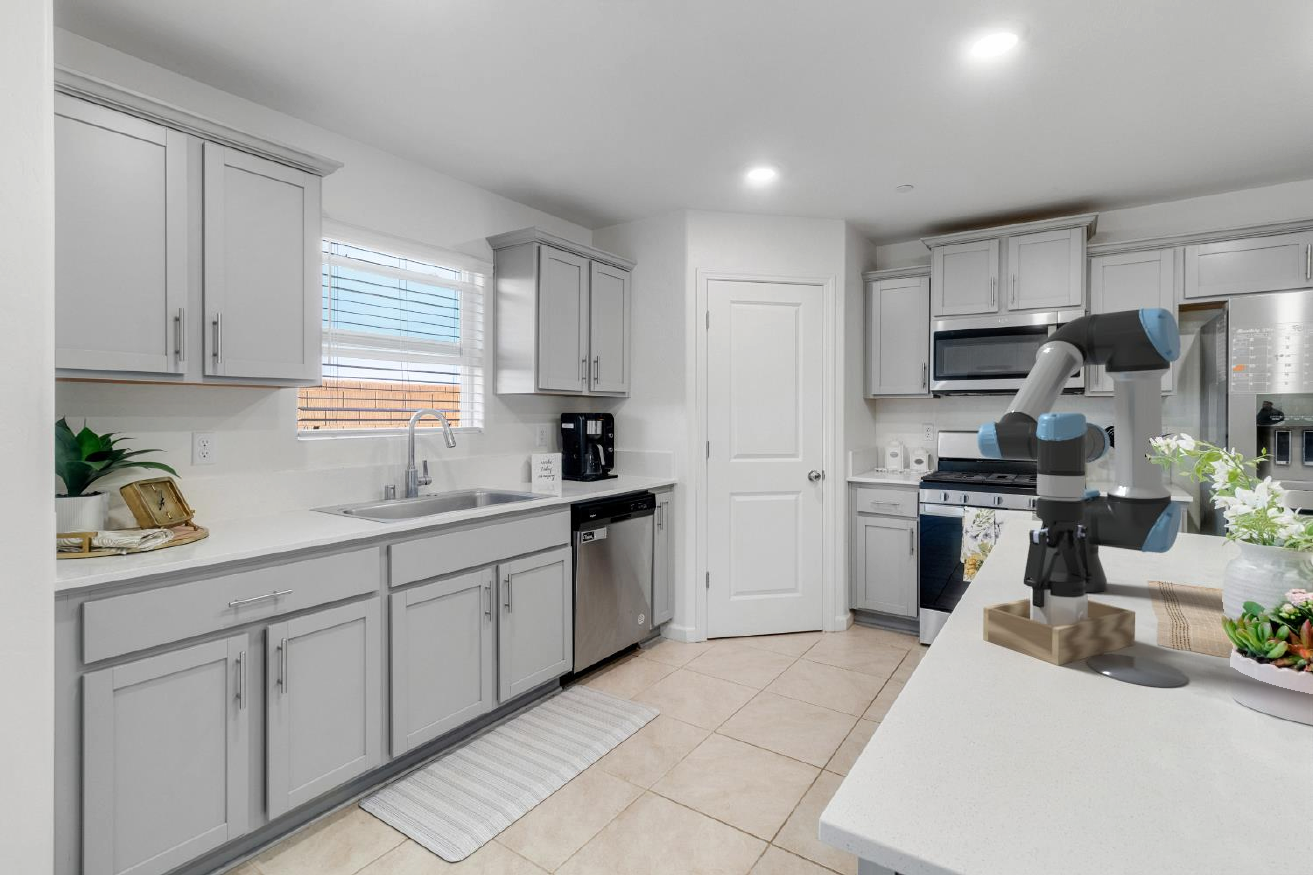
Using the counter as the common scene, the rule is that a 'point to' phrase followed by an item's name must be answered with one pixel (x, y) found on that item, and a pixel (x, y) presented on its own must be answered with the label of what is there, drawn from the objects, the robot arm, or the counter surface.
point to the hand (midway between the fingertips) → (1058, 620)
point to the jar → (1065, 599)
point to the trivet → (1137, 670)
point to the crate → (1059, 632)
